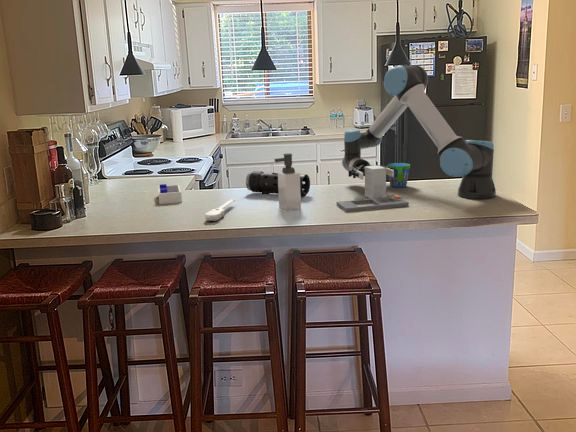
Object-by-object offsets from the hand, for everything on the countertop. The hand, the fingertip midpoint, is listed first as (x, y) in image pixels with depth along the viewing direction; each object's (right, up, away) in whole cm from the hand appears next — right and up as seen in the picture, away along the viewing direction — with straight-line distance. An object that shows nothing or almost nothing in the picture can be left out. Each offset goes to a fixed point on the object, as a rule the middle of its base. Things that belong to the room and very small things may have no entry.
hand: (377, 174), depth 240 cm
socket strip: (-4, -13, -10) cm, 17 cm away
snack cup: (+13, -4, +25) cm, 29 cm away
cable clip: (-92, -10, +17) cm, 94 cm away
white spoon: (-63, -16, -13) cm, 67 cm away
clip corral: (-90, -10, +17) cm, 92 cm away
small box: (0, -9, +5) cm, 11 cm away
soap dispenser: (-38, -14, -9) cm, 41 cm away
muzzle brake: (-42, -8, +17) cm, 46 cm away
